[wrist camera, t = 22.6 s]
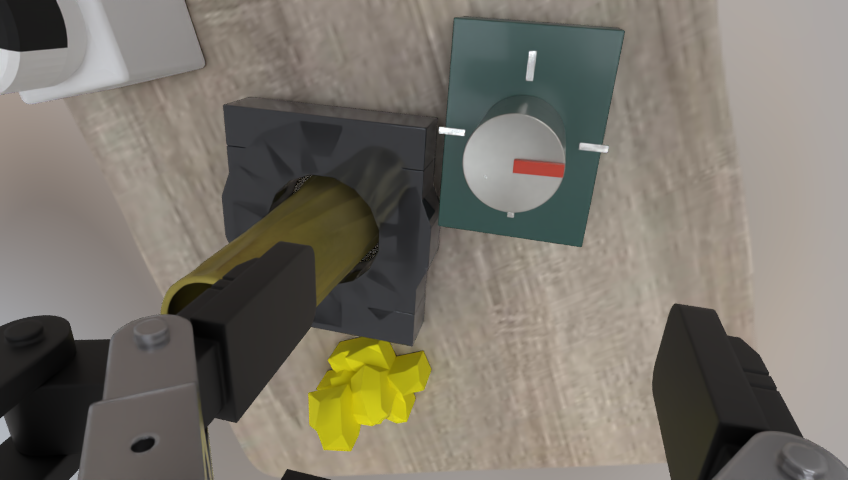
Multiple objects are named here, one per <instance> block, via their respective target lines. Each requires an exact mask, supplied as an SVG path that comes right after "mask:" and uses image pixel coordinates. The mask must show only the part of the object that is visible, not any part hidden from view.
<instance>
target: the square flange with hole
mask: <svg viewBox="0 0 848 480" xmlns="http://www.w3.org/2000/svg"><path fill="white" fill-rule="evenodd" d="M223 110H224V121H225V132H226V144H227V145H228V146H227V155H228V166H229V175H228V178H227V181H226V185H225V188H224V191H223V194H222V204H223V214H224V225H225V235H226V238H227V240H228V242H229V243H230V242H232V241H233V240H235V239H236V238H237V237H239V236H240V235H242V234H243V233H244V232H246V231H247V230H248V229H250V228H251V227H252V226H253V225H255V224H256V223H257V222H259V221H260V220H261V219H263V218H264V217H265V216H267V215H268V214H269V213H270V212H271V211H272V210H274V209H275V208H276V207H277V206H279V205H280V204H281V203H282V202H284V201H285V200H286V199H287V198H289V197H290V196H291V195H292V192H293V190H294V187H295V184H296V182H297V180H298V179H299V178H301V177H305V176H308V175H316V176H324V177H331V178H335V179H336V180H338V181H340V182H342V183H344V184H345V185H347V186H349V187H351V188H352V189H354V190H355V191H356V192H357V193H358V194H359V195H360V197H361V198H362V199H363V200H364V201H365V202H366V203H367V205H368V206H369V207H370V208H371V211H372V214H373V216H374V219H375V222H376V224H377V227H378V230H379V237H378V252H377V254H376V255H375V256H374V257H373V258H372V259H370V260H369V261H365V262H360V263H358V264H357V265H356V266H355V267H354V268H353V269H352V270H351V271H350V272H349V273H348V274H347V275H346V276H345V277H344V278H343V279H342V280H341V281H340V282H339V283H338V284H337V285H336V286H335V287H334V288H333V290H332V291H331V292H330V293H329V294H328V295H327V296H326V297H325V298H324V299H323V301H322V302H321V303H320V304H319V305H318V306H317V307H316V313H315V317H314V320H313V323H312V325H311V327H314V328H319V329H324V330H330V331H335V332H340V333H345V334H350V335H355V336H361V337H366V338H371V339H376V340H381V341H386V342H392V343H397V344H402V345H407V346H413V344H414V342H415V340H416V337H417V335H418V333H419V331H420V329H421V326H422V324H423V321H424V307H425V292H426V279H427V271H428V269H429V267H430V265H431V263H432V261H433V259H434V257H435V255H436V253H437V251H438V248H439V238H440V226H438V216H439V201H438V198H437V195H436V192H435V189H434V186H433V182H434V168H435V152H436V139H437V125H438V118H437V117H428V116H419V115H410V114H401V113H392V112H383V111H374V110H365V109H356V108H347V107H338V106H329V105H320V104H311V103H302V102H293V101H284V100H275V99H266V98H257V97H248V98H244V99H241V100H237V101H234V102H231V103H227V104H224V105H223Z"/></svg>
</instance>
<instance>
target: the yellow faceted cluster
mask: <svg viewBox="0 0 848 480" xmlns="http://www.w3.org/2000/svg"><path fill="white" fill-rule="evenodd" d="M328 361H329V363H330V365H331V367H332V369H333V370H330V371H327V373H326V374H325V376H324V377H323V379H322V380H321V382H320V384H319V385H318V387H317V388H316V389H317V390H318V391H314V392H309V393H308V400H309V425H310V426H311V427H312V428H313V429H315V430H316V431H317V433H318V436H319V438H320V441H321V444H322V446H323V449H324V450H336V451H351V450H352V448H353V446H354V444H355V442H356V440H357V438H358V436H359V432H360V426H361V424H363V425H369V426H374V425H376V424H381V423H382V421H383V420H384V419H388V420H390V421H393V422H395V423H402V422H407V420H408V418H409V415H410V412H411V410H412V407H413V404H414V402H415V399H416V398H415V395H414V393H415V392H419V391H423V390H424V389H425V386H426V383H427V380H428V378H429V375H430V372H431V367H430V365H429V363H428V360H427V358H426V356H425V354H424V351H420V352H415V353H411V354H406V355H401V356H396V355H395V353H394V350H393V348H392V346H391V344H390V342H386V341H381V340H376V339H371V338H366V337H359V338H355V339H351V340H346V341H342V342H339V344H338V346H337V347H336V349H335V350H334V352H333V353H332V355H331V356H330V358H329V359H328Z"/></svg>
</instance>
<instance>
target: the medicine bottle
mask: <svg viewBox="0 0 848 480" xmlns="http://www.w3.org/2000/svg"><path fill="white" fill-rule="evenodd" d="M204 66H205V60H204V57H203V54H202V51H201V48H200V45H199V42H198V39H197V36H196V33H195V30H194V27H193V24H192V21H191V18H190V15H189V12H188V9H187V6H186V3H185V0H0V95H3V94H9V93H15V92H19V94H20V96H21V99H22V100H23V101H24V102H25V103H26V104H36V103H42V102H47V101H52V100H57V99H63V98H68V97H73V96H78V95H84V94H89V93H94V92H99V91H104V90H110V89H115V88H120V87H124V86H128V85H133V84H137V83H141V82H146V81H150V80H154V79H159V78H163V77H167V76H172V75H176V74H180V73H184V72H189V71H193V70H197V69H201V68H203V67H204Z"/></svg>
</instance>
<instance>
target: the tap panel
mask: <svg viewBox="0 0 848 480" xmlns="http://www.w3.org/2000/svg"><path fill="white" fill-rule="evenodd" d="M624 34H625V31H624V30H622V29H620V28H616V27H603V26H589V25H576V24H562V23H549V22H536V21H522V20H509V19H495V18H482V17H469V16H463V17H456V18H454V24H453V37H452V50H451V62H450V75H449V88H448V101H447V114H446V126H445V127H443V126H439V133H440V134H445V139H444V152H443V165H442V178H441V190H440V203H439V216H438V226H443V227H450V228H456V229H463V230H470V231H477V232H483V233H490V234H497V235H503V236H510V237H517V238H524V239H530V240H537V241H544V242H550V243H557V244H564V245H571V246H577V247H582V244H583V239H584V234H585V229H586V224H587V219H588V214H589V209H590V204H591V199H592V194H593V189H594V184H595V179H596V174H597V169H598V164H599V159H600V154H601V152H603V153H608V148H609V145H602V144H603V139H604V134H605V129H606V124H607V119H608V114H609V109H610V104H611V99H612V94H613V89H614V84H615V79H616V74H617V69H618V64H619V59H620V54H621V49H622V44H623V39H624ZM518 95H527V96H533V97H537V98H539V99H542V100H544V101H545V102H547V103H548V104H550V105H551V106H552V107H553V108H554V109H555V110H556V111H557V113H558V114H559V115H560V117H561V119H562V122H563V124H564V128H565V135H566V164H565V172H564V177H563V179H562V182H561V184H560V186H559V188H558V189H557V191H556V192H555V194H554V195H553V196H552V197H551V198H550V199H549V200H548V201H546V202H545V203H544V204H542V205H540V206H539V207H537V208H534V209H532V210H529V211H524V212H516V213H512V212H504V211H499V210H496V209H494V208H491V207H489V206H488V205H486V204H484V203H483V202H482V201H480V200H479V199H478V198H477V197H476V196H475V195H474V194H473V192H472V191H471V190H470V188H469V186H468V184H467V182H466V180H465V177H464V173H463V153H464V149H465V146H466V144H467V141H468V140H469V138H470V136H471V135H472V133H473V132H474V130H475V129H476V128H477V126H478V125H479V123H480V122H481V121H482V119H483V118H484V116H485V115H486V114H487V112H488V111H489V110H490V109H491V108H492V107H493V106H494V105H496V104H497V103H498V102H500V101H502V100H504V99H506V98H509V97H512V96H518Z"/></svg>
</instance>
